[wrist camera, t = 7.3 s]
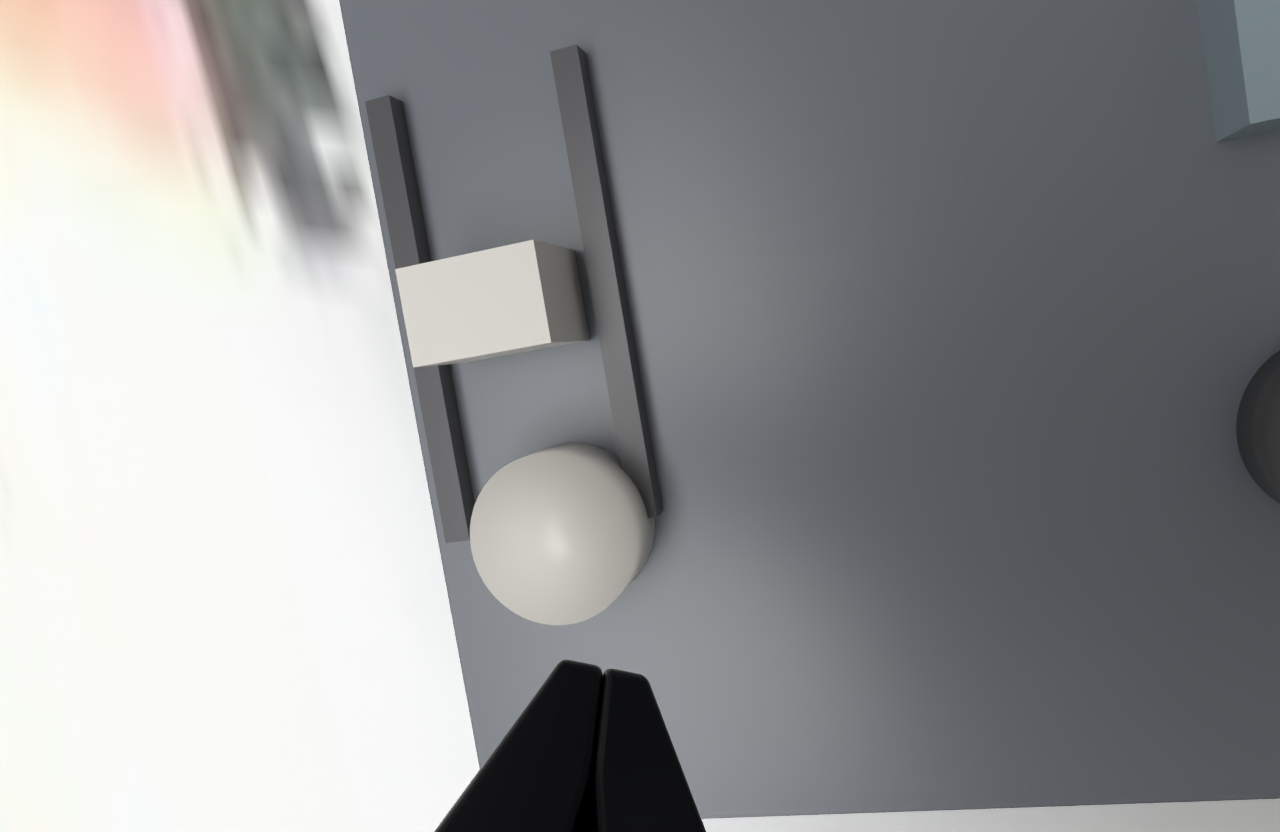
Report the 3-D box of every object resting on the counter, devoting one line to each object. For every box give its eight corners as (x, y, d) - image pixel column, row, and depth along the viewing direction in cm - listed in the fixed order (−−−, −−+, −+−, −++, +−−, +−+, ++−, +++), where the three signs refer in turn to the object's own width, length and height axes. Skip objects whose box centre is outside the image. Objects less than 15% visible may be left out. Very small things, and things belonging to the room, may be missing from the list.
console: (1564, 748, 18) (1750, 863, 14) (513, 794, 23) (445, 884, 20) (1412, -549, 16) (1574, -812, 13) (340, -165, 22) (229, -267, 18)
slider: (589, 340, 20) (551, 342, 18) (466, 362, 21) (413, 367, 19) (574, 249, 20) (533, 239, 18) (450, 275, 21) (395, 269, 18)
